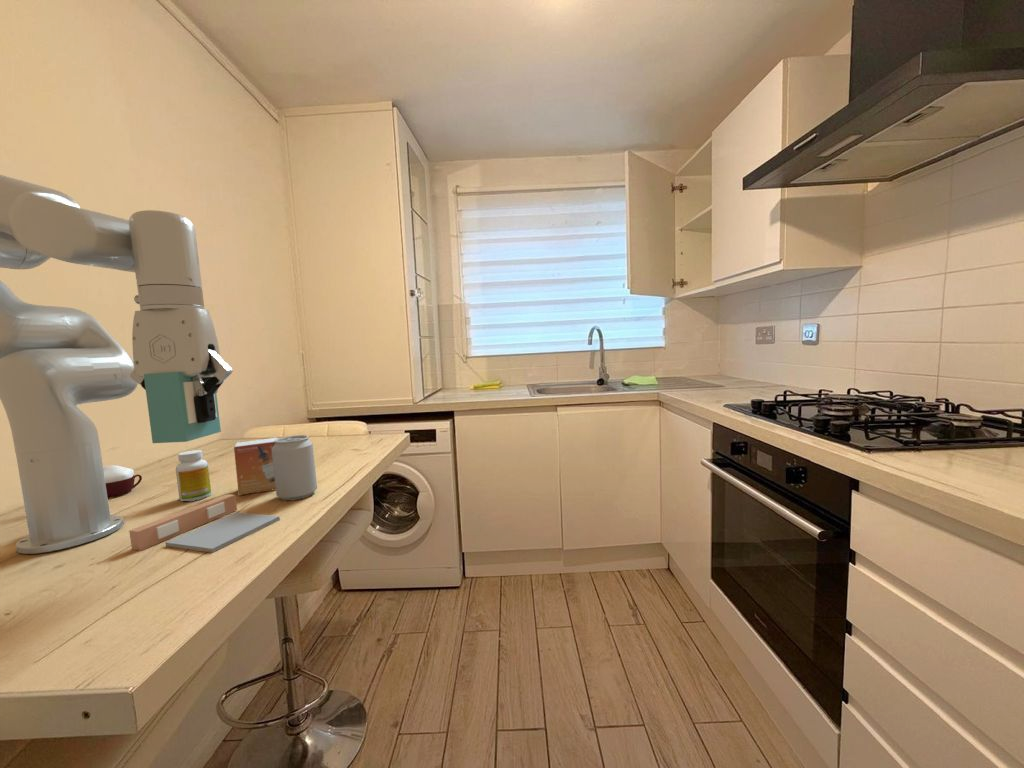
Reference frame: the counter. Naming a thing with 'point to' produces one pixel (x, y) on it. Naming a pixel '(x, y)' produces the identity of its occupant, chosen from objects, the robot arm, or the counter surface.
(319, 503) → the counter surface
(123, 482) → the cocoa
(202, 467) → the supplement bottle
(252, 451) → the small box
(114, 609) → the counter surface
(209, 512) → the price rail
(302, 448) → the can
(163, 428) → the carton block
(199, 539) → the mat
